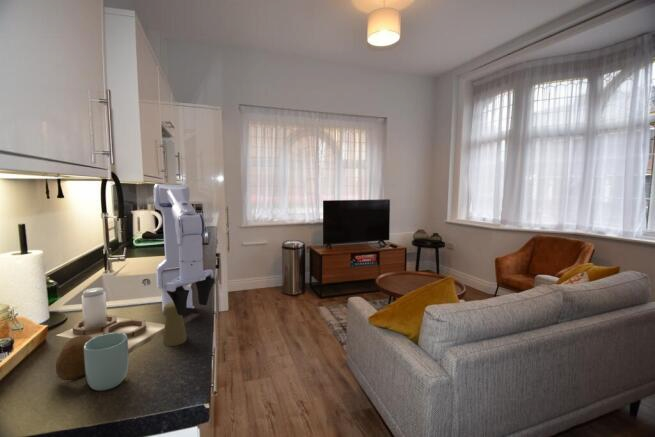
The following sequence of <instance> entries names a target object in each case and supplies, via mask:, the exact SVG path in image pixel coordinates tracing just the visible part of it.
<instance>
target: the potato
mask: <svg viewBox="0 0 655 437" xmlns="http://www.w3.org/2000/svg"><path fill="white" fill-rule="evenodd" d="M91 339H93V337H90V336H82V335H81V336H77V337H74V338H70V340H68V341H66V342H65V343H64V345H63V346H62V348H61V350H60V351H59V354H58V356H57V357H56V358H57V359H56V363H55V372H56V375H57V376H58V378H60V379H61V380H63V381H74V380H77V379H78V378H80V379H81V378H84V376H85V377H86V374H85V366H84V345H85V344H86V343H87V342H88V341H89V340H91Z"/></svg>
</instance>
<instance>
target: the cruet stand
mask: <svg viewBox="0 0 655 437" xmlns="http://www.w3.org/2000/svg"><path fill="white" fill-rule="evenodd" d="M164 329H165V323H164V324H163V323H159V322H158V323H157V322H150V321H146V319H145V320H144V319H138V318H135V319H134V318H131V319H130V318H124V317H117V316H116V315H113V314H111V315H110V314H107V324H105V325H102V326H99V327H93V328H88V329H85V328H84V325H83V319H82V320H79V321H76V323H74V324H73V326H72V328H70V329H68V330H65V331H63V332H61V333H59V334H56V335H55V336H56V337H57V336H58V337H63V338H68V339H72V338H74V337H77V336H81V335H82V336H90V337H93V338H95V337H97V336H101V335H104V334H110V333H124V334H126V335H127V338H128V352H129V354H131V353H132V352H135V351H136V350H138V349H139V348H142V347H143V346H145V345H146V344H148V343H149V342H151V341H152V340H154V339H156V338H157V337H159V336H161V335H164Z"/></svg>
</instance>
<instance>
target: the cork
mask: <svg viewBox="0 0 655 437" xmlns="http://www.w3.org/2000/svg"><path fill="white" fill-rule="evenodd" d="M162 312H163V315H164V316H165V320H164V321H165V322H164V324H165V328H163V329H164V333H163V338H162V339H163V340H162V344H163V345H164V346H166V347H175V346H179V345H182V344H184V343H185V342H186V341H187V333H186V327H185V321H184V317H183V315H178V313H177V310H176V307H175V305H174V302H170V303H168V304H166V305H165V306H164V309H163V311H162Z"/></svg>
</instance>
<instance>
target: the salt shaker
mask: <svg viewBox="0 0 655 437" xmlns="http://www.w3.org/2000/svg"><path fill="white" fill-rule="evenodd" d="M104 290H105V289H104V287H93V288H87V289H85V290H83V292H82V295H81V309H82V320H83V325H84V328H85V329H88V328H93V327H99V326H102V325H105V324H107V315H108V312H107V296H106V295H107V294H106V293H107V292H106V291H104Z"/></svg>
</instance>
